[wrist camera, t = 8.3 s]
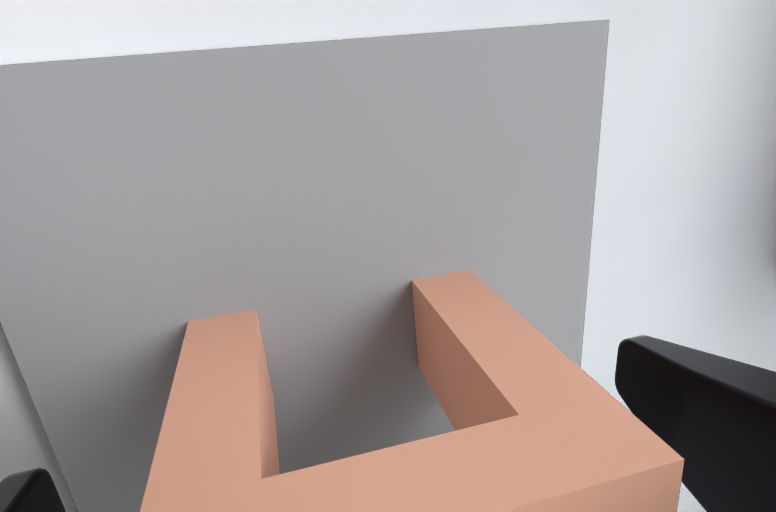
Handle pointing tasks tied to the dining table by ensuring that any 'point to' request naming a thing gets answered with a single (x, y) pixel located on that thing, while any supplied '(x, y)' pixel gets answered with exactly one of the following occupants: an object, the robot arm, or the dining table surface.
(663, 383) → the robot arm
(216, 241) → the coaster
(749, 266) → the dining table surface
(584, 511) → the u-shaped block
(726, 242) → the dining table surface
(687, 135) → the dining table surface
